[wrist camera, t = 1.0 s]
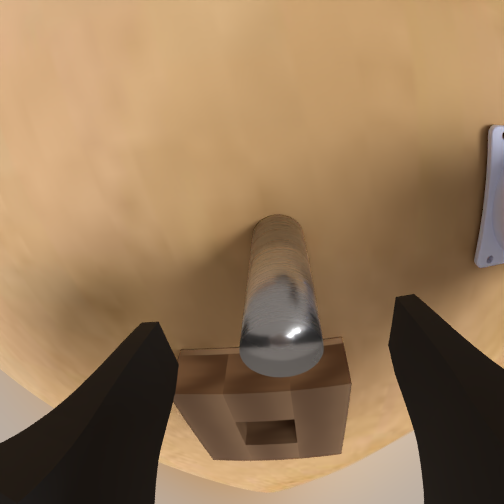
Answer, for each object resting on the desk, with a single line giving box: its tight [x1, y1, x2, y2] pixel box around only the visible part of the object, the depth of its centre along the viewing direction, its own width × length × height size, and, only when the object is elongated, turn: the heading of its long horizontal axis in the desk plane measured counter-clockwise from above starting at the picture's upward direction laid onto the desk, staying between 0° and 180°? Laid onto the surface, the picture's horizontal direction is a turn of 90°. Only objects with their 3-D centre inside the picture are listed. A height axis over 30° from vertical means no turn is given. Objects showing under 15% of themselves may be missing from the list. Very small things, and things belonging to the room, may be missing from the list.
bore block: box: [173, 337, 352, 461], centre depth 19 cm, size 10×10×4 cm
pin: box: [239, 215, 324, 377], centre depth 12 cm, size 2×2×7 cm
